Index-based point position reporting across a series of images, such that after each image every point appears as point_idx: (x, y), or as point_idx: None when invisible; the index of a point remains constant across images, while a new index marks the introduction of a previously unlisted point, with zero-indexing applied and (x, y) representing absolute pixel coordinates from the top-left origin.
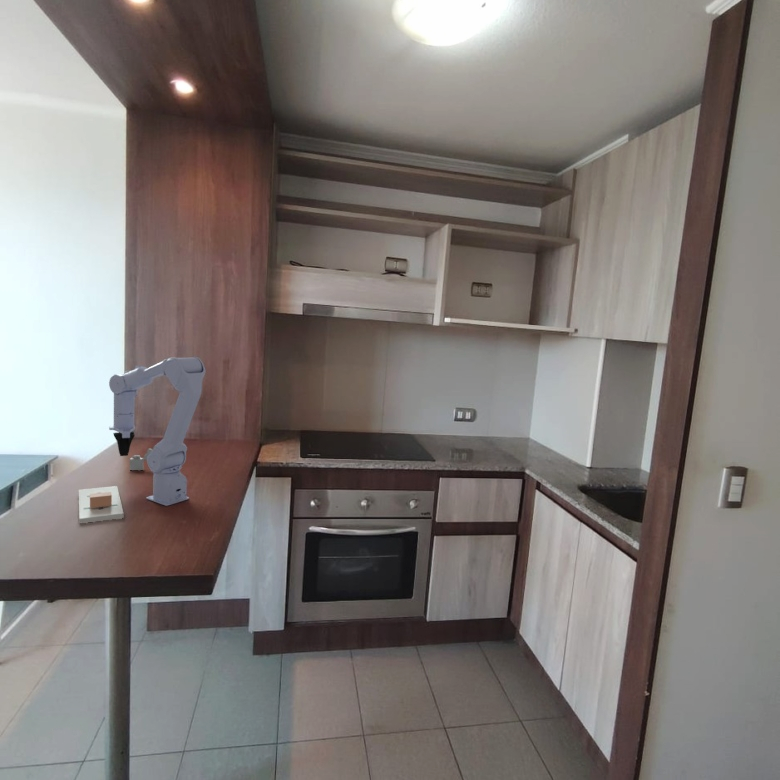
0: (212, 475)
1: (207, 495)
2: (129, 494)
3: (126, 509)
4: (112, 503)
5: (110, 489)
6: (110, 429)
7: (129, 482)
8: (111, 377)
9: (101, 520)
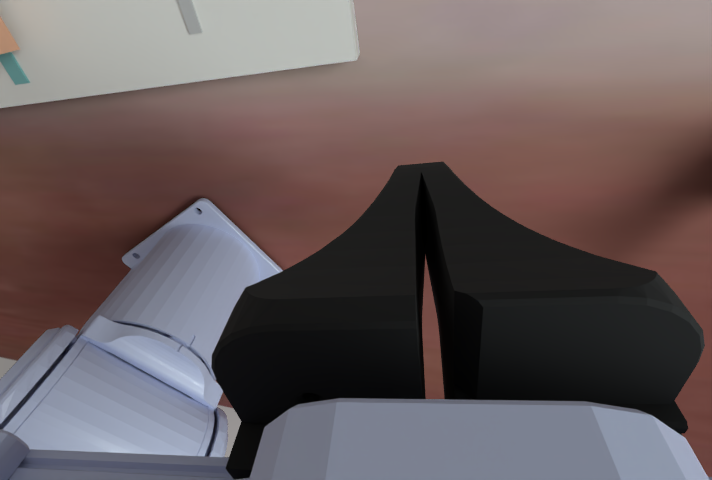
0: None
1: None
2: (280, 124)
3: (65, 117)
4: (37, 55)
5: (283, 21)
6: (259, 450)
7: (505, 119)
8: None
9: None
